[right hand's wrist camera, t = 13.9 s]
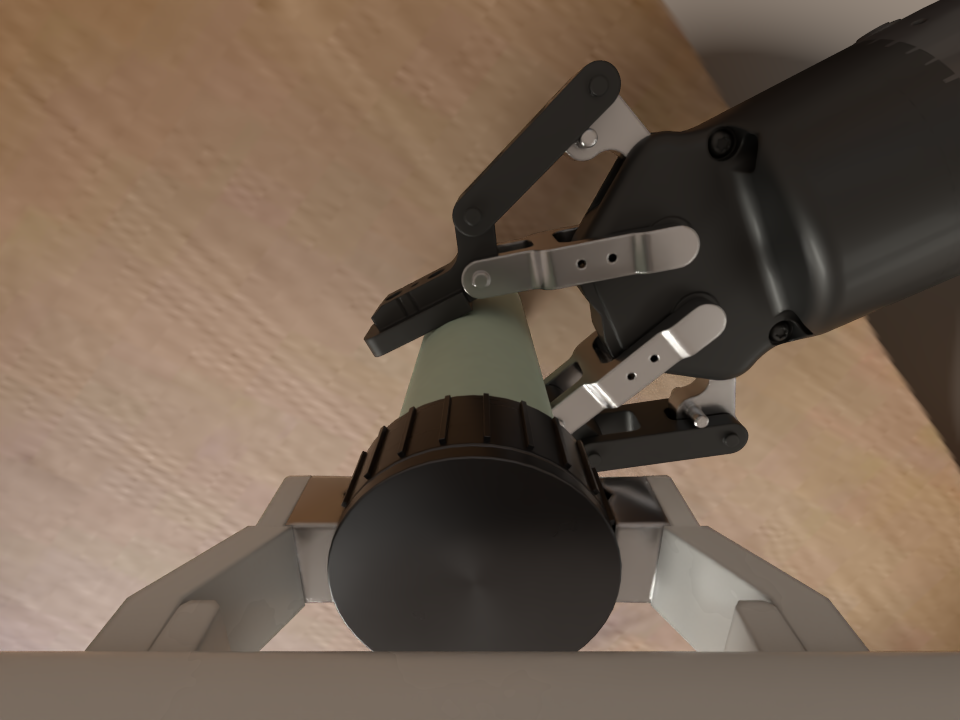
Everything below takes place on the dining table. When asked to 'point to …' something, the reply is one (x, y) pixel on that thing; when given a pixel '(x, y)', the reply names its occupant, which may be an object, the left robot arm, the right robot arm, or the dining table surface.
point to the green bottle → (480, 358)
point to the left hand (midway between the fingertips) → (410, 395)
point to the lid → (475, 534)
